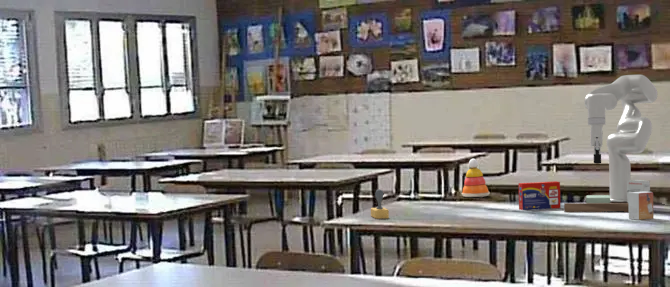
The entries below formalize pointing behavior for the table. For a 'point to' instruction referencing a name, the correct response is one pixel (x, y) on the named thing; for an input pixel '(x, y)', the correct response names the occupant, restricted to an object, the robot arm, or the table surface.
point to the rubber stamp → (379, 207)
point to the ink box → (637, 186)
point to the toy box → (539, 195)
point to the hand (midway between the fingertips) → (597, 162)
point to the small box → (640, 205)
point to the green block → (598, 199)
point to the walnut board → (595, 207)
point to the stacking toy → (474, 182)
